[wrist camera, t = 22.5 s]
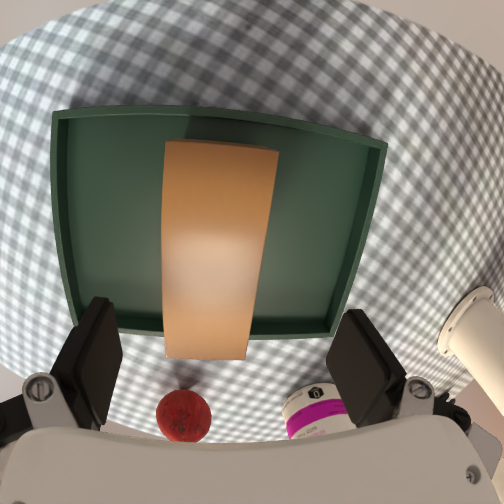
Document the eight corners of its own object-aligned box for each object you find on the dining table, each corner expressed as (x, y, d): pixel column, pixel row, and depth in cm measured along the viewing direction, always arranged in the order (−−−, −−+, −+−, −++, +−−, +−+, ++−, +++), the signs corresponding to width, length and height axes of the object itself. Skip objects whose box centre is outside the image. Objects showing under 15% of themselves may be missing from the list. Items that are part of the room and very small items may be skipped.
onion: (157, 371, 26) (151, 436, 19) (211, 376, 27) (216, 440, 20) (159, 401, 28) (156, 458, 21) (207, 405, 30) (212, 462, 22)
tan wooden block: (179, 137, 17) (165, 140, 11) (257, 144, 18) (279, 151, 12) (172, 305, 22) (165, 358, 17) (235, 307, 23) (245, 360, 18)
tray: (371, 140, 19) (388, 143, 17) (324, 321, 26) (333, 337, 24) (67, 111, 15) (52, 111, 13) (82, 310, 22) (73, 327, 20)
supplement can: (268, 402, 31) (296, 509, 18) (326, 370, 30) (374, 479, 16) (298, 421, 34) (326, 509, 21) (348, 393, 33) (390, 481, 20)
